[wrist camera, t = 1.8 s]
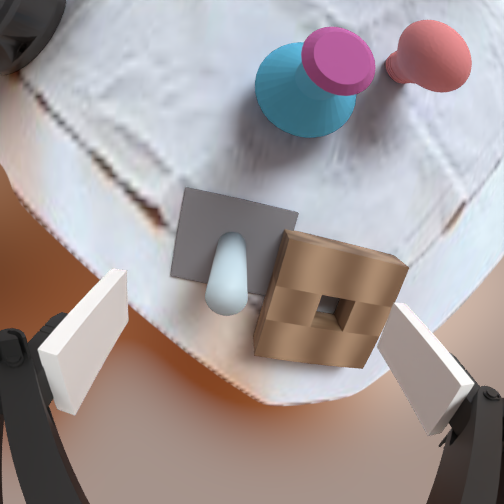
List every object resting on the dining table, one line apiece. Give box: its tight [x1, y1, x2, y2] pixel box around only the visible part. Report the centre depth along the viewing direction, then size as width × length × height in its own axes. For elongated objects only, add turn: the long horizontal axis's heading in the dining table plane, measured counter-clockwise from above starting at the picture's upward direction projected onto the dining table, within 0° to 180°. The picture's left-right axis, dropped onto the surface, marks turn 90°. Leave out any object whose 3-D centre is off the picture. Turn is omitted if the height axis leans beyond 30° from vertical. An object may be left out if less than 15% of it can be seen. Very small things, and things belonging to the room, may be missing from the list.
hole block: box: [253, 229, 409, 369], centre depth 34 cm, size 14×14×4 cm
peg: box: [205, 232, 248, 316], centre depth 27 cm, size 3×3×12 cm
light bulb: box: [386, 20, 472, 92], centre depth 22 cm, size 7×7×12 cm
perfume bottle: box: [255, 27, 375, 138], centre depth 21 cm, size 9×9×15 cm
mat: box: [171, 187, 298, 296], centre depth 33 cm, size 12×10×1 cm
